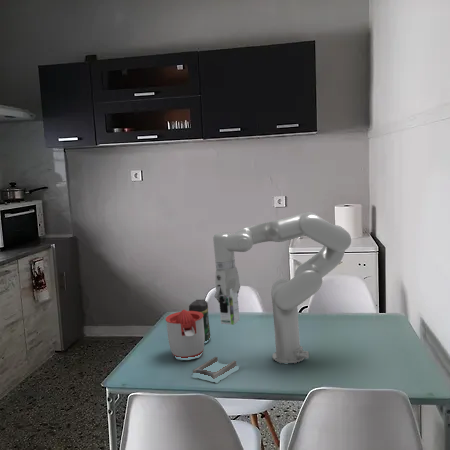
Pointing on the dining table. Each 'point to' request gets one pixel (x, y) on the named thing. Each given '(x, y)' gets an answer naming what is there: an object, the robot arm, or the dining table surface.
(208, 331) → the coffee jar
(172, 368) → the dining table surface
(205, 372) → the rail board
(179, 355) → the citrus juicer
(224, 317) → the syrup box
